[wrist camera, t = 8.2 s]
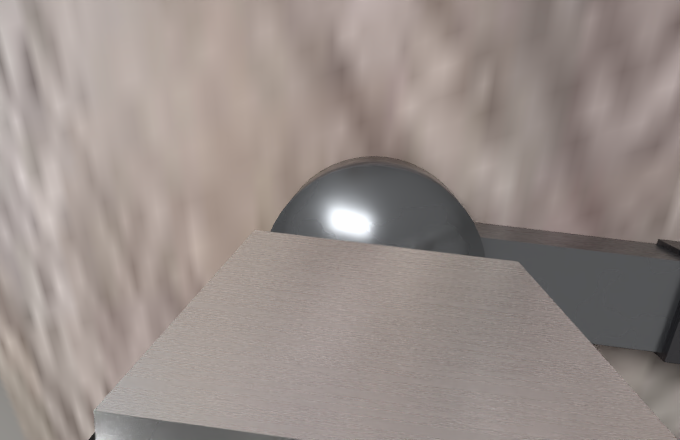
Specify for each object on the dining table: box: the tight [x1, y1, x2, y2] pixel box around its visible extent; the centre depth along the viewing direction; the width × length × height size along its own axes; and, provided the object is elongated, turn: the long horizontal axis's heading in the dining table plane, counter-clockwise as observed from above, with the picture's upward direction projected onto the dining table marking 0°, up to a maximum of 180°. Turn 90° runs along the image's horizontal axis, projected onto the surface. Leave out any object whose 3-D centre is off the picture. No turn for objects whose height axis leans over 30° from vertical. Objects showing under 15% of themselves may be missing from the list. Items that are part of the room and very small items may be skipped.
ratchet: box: [271, 156, 680, 364], centre depth 15 cm, size 24×8×6 cm, turn 84°
